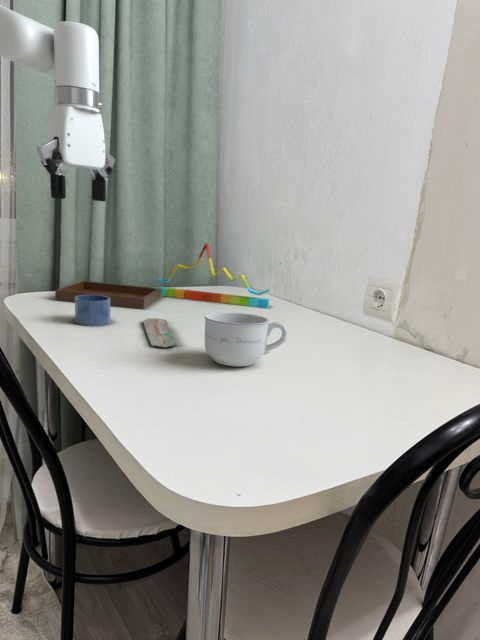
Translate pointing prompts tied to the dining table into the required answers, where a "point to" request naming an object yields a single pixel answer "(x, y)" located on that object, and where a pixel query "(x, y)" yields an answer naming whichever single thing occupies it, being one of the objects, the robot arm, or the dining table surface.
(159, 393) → the dining table surface
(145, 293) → the tray
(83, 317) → the blue short cylinder
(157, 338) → the map
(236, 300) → the chart
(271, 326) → the teacup
